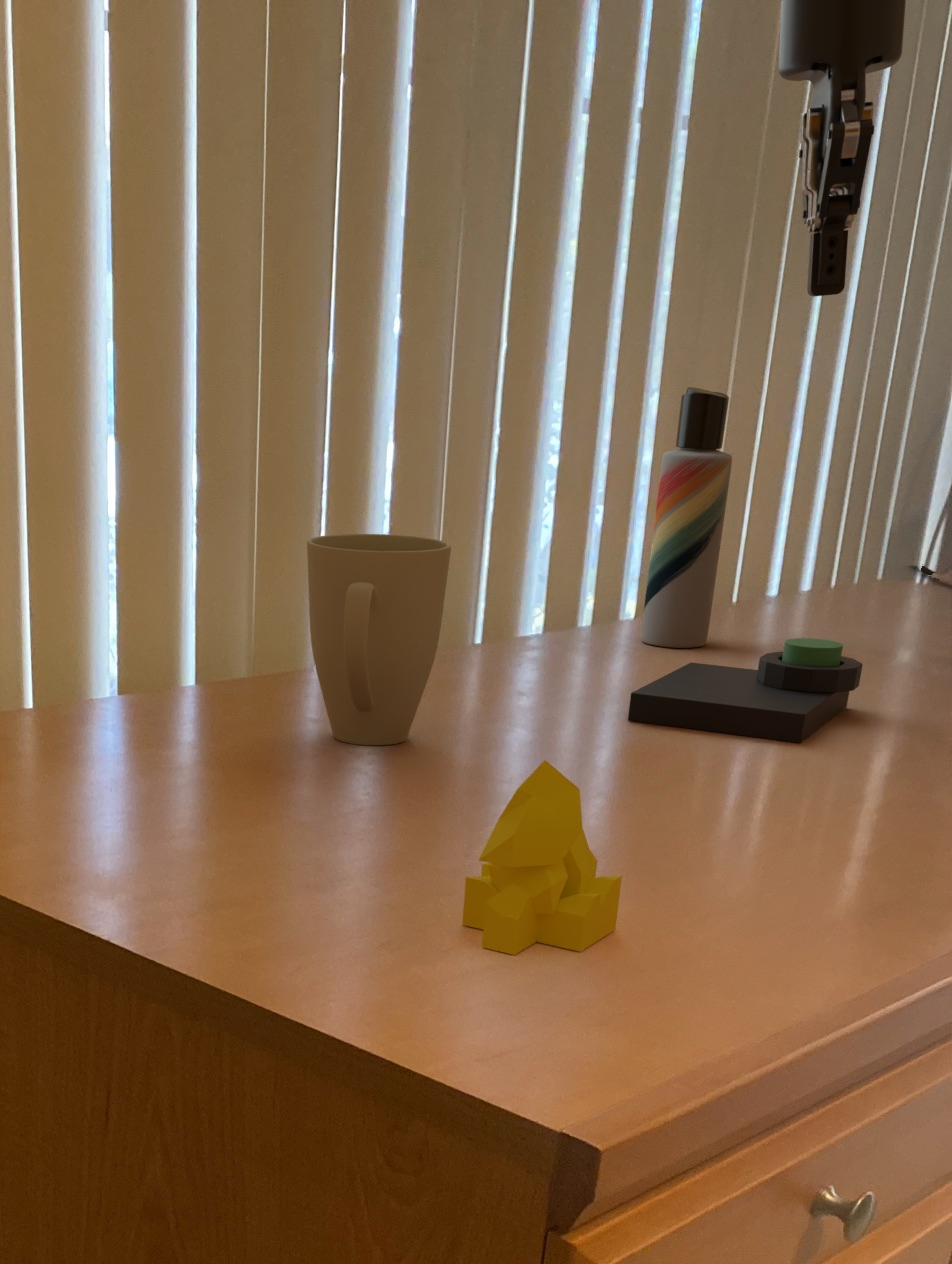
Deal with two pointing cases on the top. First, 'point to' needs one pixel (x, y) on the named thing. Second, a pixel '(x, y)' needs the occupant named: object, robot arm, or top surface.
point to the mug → (375, 629)
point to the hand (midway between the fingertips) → (825, 294)
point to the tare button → (812, 652)
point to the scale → (749, 698)
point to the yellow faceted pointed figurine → (541, 873)
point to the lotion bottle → (688, 525)
